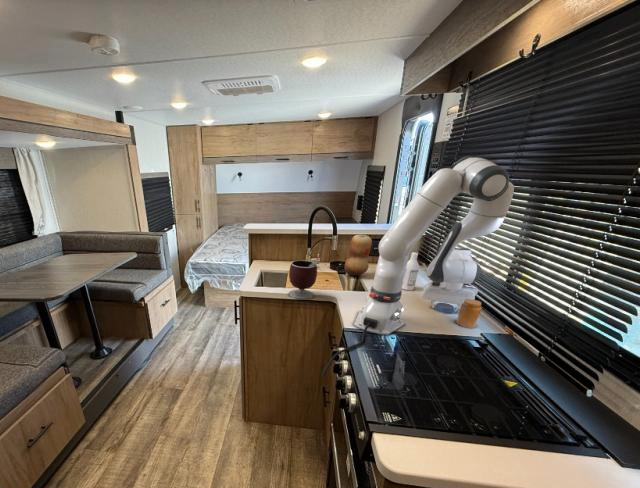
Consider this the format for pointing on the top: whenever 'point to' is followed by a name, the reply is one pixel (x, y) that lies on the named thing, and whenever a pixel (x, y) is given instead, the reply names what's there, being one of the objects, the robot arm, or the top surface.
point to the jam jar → (469, 313)
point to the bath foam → (411, 273)
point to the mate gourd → (302, 278)
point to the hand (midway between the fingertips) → (443, 310)
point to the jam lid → (444, 307)
